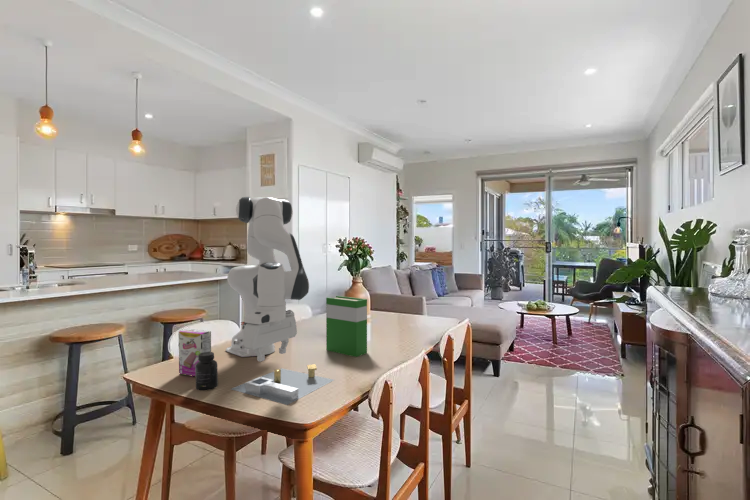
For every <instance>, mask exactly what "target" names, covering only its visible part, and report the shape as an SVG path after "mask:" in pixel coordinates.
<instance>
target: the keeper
mask: <svg viewBox="0 0 750 500" xmlns="http://www.w3.org/2000/svg"><path fill="white" fill-rule="evenodd" d="M306 367H307V371H308V373H307V374H308V377H310V378H313V377H315V376H316V374H315V371H317V370H318V368H317V365H316V364H315V363H314V364H307V365H306Z"/></svg>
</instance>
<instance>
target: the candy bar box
mask: <svg viewBox="0 0 750 500" xmlns="http://www.w3.org/2000/svg"><path fill="white" fill-rule="evenodd" d="M204 352H212V331H210V330H203V329H195V328H186V329H181V330H179V331H178V374H179V373H180V374H186V375H192V376H191V377H193V376H196V374H195V366H196V364H197V363H198V362H199V361H198V355H199V354H200V353H204ZM180 374H179V375H180ZM186 375H185V376H186Z"/></svg>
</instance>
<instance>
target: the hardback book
mask: <svg viewBox="0 0 750 500" xmlns="http://www.w3.org/2000/svg"><path fill="white" fill-rule="evenodd" d="M325 299H326V301H325V302H326V303H325V305H326V306H325V311H326V312H325V313H326V320H325V321H326V323H325V325H326V328H325V330H326V331H325V333H326V341H325V342H326V351H328V352H332V353H336V354H340V355H341V354H342V355H345V356H349V357H354V358H358V357H360V356H363V355H366V354H367V353H368V299H367V298H360V297H350V296H342V295H341V296H340V295H336V296H335V297H326V298H325Z"/></svg>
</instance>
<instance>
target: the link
mask: <svg viewBox="0 0 750 500" xmlns="http://www.w3.org/2000/svg"><path fill="white" fill-rule="evenodd" d="M244 383H245V391H246V392H248V393H251V394H255V395H259V396H260V395H262V394H266V395H270V396H273V397H277V398H281V399H284V400H288V401H294V400H296V399H298V388H294V387H290V386H286V385H282V384H278V383H274V380H272V379H268V378H264V377H261V376H258V377H256V378H253V379H251V380H249V381H246V382H244ZM298 400H299V399H298ZM296 401H297V400H296ZM294 402H295V401H294Z"/></svg>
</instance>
